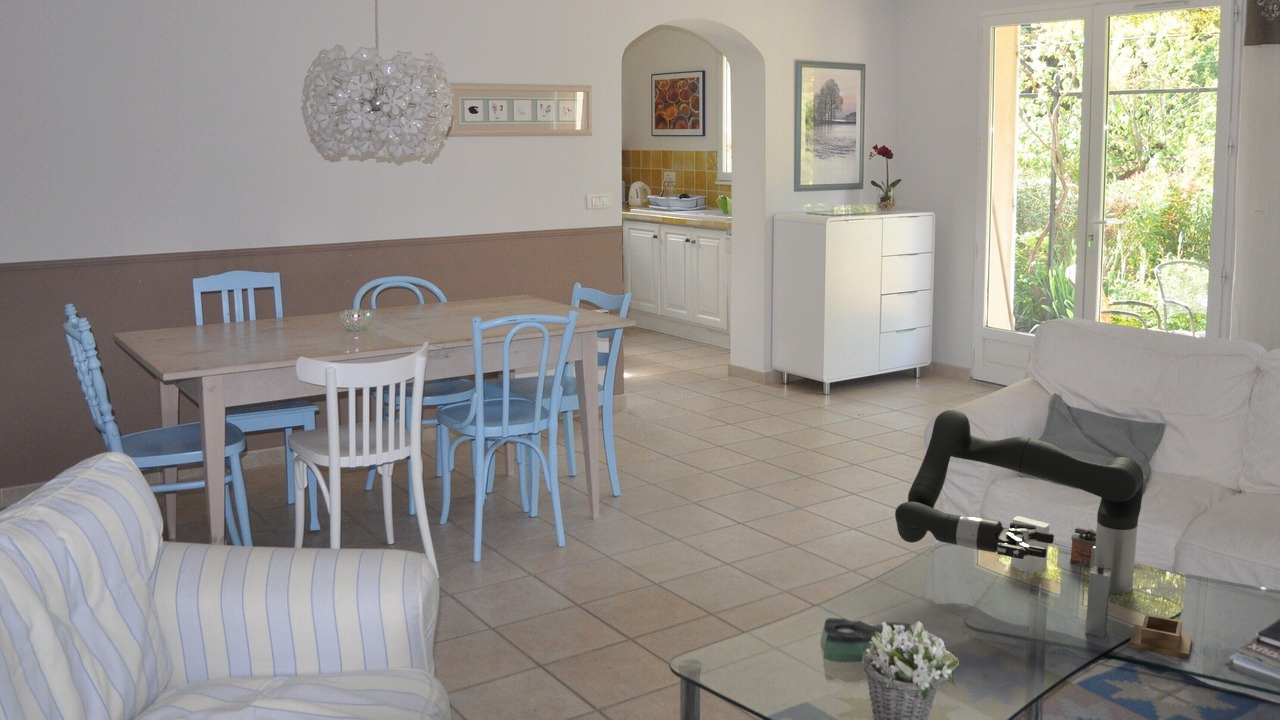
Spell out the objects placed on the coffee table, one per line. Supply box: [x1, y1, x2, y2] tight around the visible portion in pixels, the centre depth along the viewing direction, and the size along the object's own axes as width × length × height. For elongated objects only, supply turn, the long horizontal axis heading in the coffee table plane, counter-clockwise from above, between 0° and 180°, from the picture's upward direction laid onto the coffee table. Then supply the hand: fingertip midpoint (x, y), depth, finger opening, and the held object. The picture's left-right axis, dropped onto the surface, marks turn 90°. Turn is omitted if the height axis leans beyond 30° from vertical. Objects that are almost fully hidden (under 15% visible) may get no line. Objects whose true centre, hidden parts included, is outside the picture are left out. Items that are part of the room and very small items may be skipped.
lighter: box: [1069, 526, 1096, 569], centre depth 291 cm, size 8×3×10 cm, turn 58°
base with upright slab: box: [1010, 515, 1050, 572], centre depth 292 cm, size 9×9×12 cm
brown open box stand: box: [1128, 613, 1193, 660], centre depth 252 cm, size 12×9×5 cm
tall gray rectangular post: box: [1085, 565, 1111, 638], centre depth 257 cm, size 4×4×17 cm
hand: (1049, 546), depth 259 cm, fingers open, 8 cm apart
